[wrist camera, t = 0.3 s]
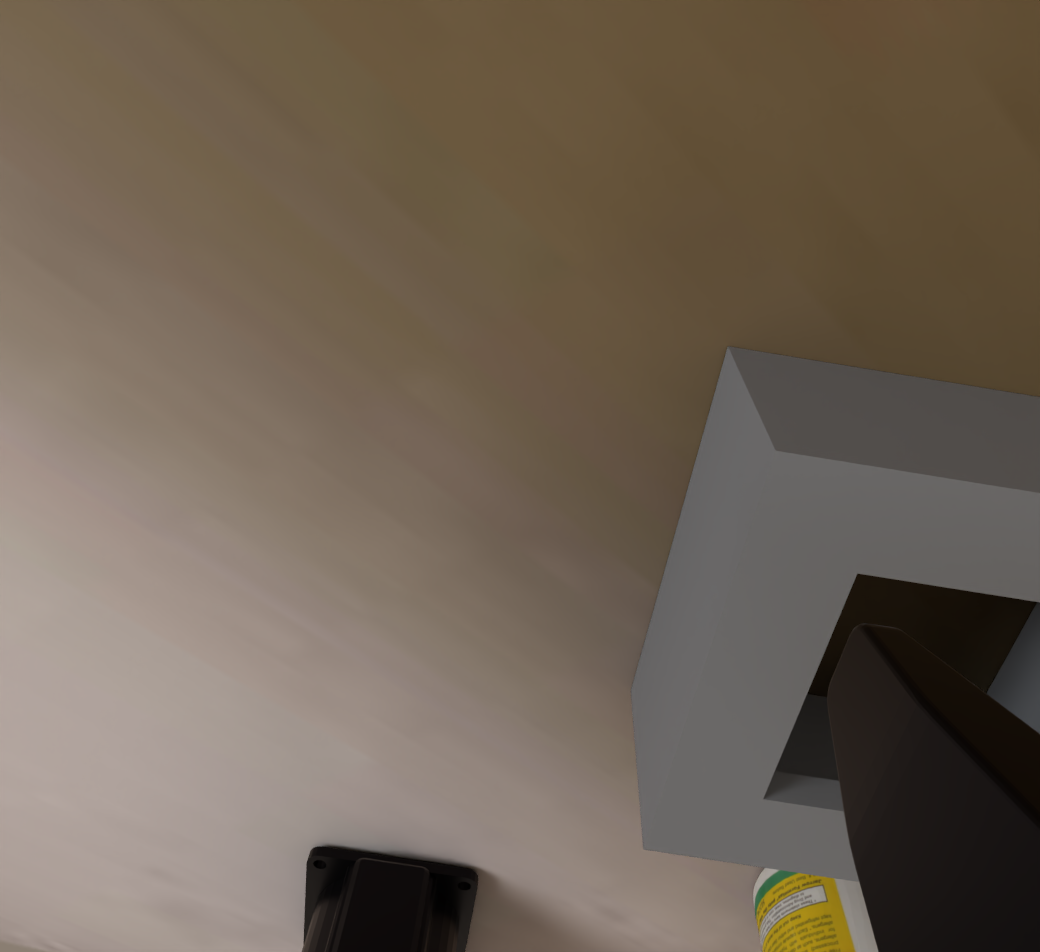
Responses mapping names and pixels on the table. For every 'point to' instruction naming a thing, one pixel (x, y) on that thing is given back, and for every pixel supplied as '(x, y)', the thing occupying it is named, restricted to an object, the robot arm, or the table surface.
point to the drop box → (816, 588)
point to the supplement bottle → (811, 914)
